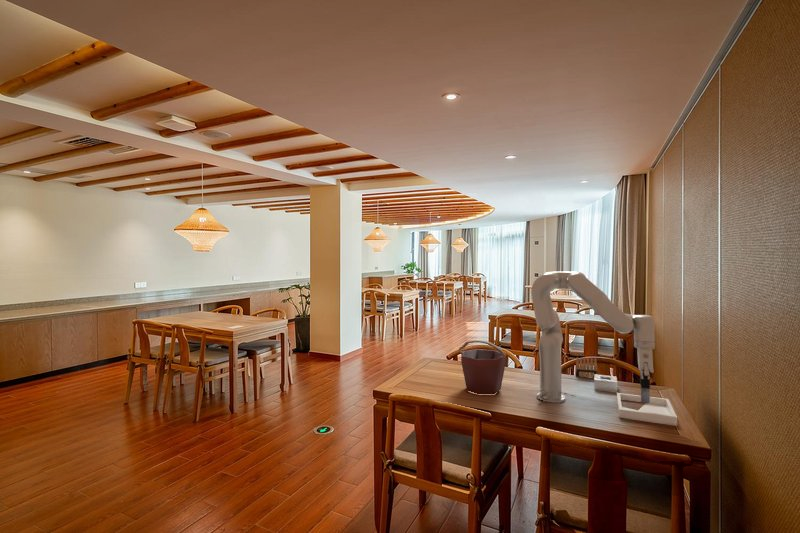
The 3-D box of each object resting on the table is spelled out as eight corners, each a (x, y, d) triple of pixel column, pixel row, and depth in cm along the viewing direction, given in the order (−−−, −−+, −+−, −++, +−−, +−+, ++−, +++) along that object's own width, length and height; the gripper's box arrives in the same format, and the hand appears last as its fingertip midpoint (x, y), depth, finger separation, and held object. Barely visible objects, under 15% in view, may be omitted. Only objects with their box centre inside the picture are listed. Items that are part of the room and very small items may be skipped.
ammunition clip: (575, 378, 217) (575, 356, 217) (575, 377, 219) (575, 355, 219) (597, 380, 213) (597, 358, 213) (597, 379, 215) (597, 357, 214)
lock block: (617, 394, 191) (617, 382, 191) (594, 391, 195) (594, 379, 195) (616, 388, 200) (616, 376, 200) (594, 385, 204) (594, 374, 204)
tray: (677, 426, 155) (677, 417, 155) (619, 417, 164) (619, 409, 164) (668, 406, 174) (668, 398, 174) (616, 400, 183) (616, 392, 183)
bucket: (450, 389, 203) (449, 341, 202) (477, 380, 217) (476, 335, 217) (489, 401, 184) (489, 348, 184) (516, 390, 199) (515, 341, 198)
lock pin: (648, 403, 167) (648, 375, 166) (640, 402, 169) (639, 374, 169) (650, 401, 169) (650, 374, 169) (642, 400, 171) (641, 372, 171)
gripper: (657, 348, 159) (657, 394, 160) (652, 340, 174) (652, 382, 174) (635, 347, 163) (636, 391, 163) (632, 339, 178) (633, 380, 178)
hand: (644, 386), depth 169 cm, fingers closed on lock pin, 3 cm apart
